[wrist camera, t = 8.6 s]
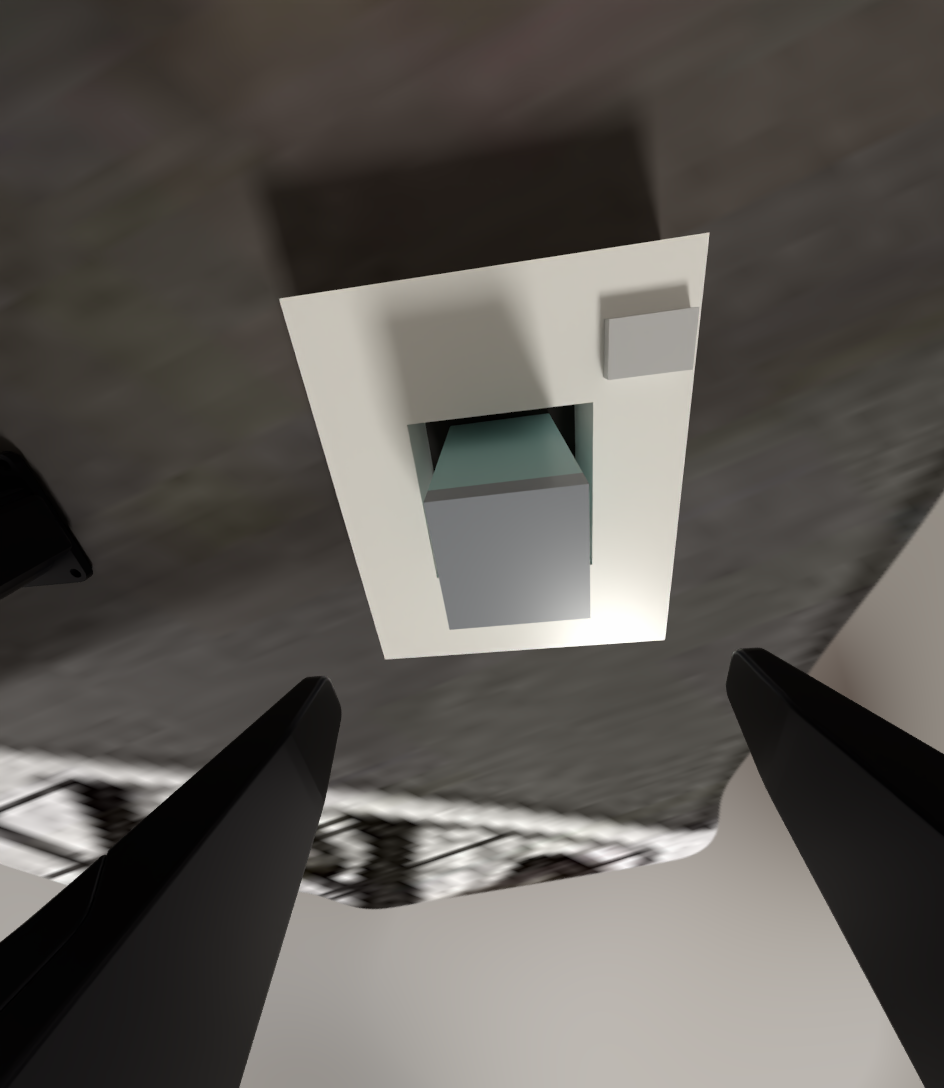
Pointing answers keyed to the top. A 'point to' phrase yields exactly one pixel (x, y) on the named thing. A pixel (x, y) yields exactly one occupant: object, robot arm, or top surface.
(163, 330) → the top surface
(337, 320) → the socket plate
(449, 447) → the plug
